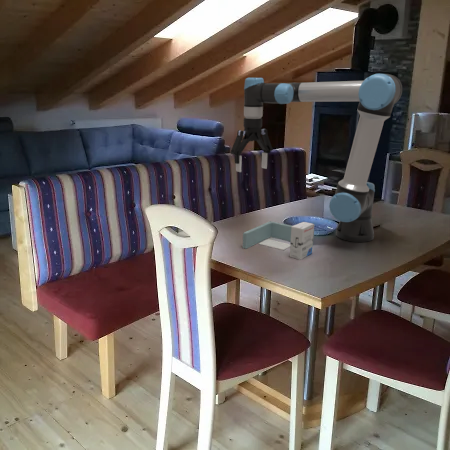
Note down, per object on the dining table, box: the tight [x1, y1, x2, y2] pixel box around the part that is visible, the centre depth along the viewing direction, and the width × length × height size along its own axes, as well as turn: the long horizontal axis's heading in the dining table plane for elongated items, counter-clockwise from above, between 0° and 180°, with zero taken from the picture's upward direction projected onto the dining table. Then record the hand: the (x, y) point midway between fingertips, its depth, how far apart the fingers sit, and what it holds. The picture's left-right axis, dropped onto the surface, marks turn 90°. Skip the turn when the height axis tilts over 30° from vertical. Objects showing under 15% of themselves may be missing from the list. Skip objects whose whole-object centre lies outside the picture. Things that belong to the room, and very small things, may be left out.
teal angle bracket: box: [242, 220, 315, 249], centre depth 193 cm, size 20×20×6 cm
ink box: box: [289, 221, 315, 261], centre depth 183 cm, size 9×5×12 cm, turn 141°
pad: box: [258, 238, 290, 251], centre depth 195 cm, size 11×7×1 cm, turn 54°
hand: (251, 169), depth 209 cm, fingers open, 13 cm apart
